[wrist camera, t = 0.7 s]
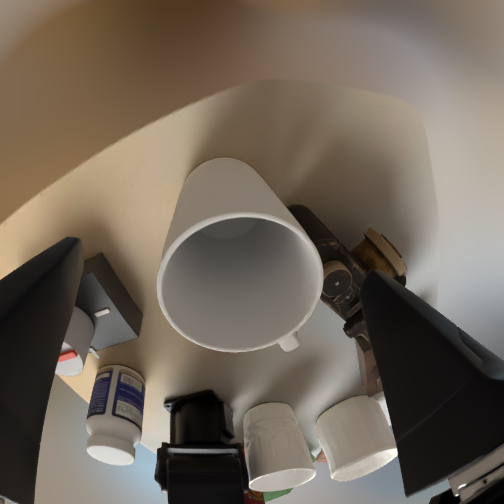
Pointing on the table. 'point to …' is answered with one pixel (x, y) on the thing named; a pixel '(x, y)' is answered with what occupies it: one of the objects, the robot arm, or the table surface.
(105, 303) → the dial panel
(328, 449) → the cup
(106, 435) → the pill bottle
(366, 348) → the switch block
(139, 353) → the table surface
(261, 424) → the white cup
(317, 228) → the camera
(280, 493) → the carved green slab
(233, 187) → the mug
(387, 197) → the table surface
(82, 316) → the dial
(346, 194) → the table surface
